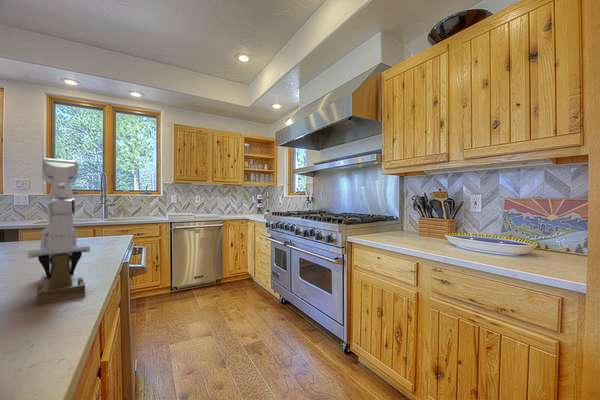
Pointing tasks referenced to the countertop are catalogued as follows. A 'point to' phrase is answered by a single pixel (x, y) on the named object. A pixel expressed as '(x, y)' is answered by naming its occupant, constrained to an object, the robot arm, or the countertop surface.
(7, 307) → the countertop surface
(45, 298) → the spice rack
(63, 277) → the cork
